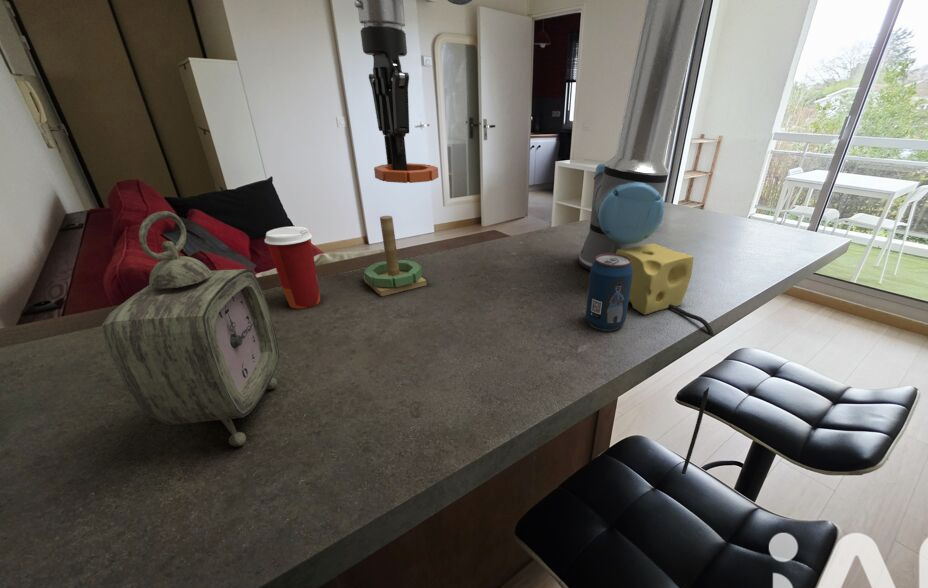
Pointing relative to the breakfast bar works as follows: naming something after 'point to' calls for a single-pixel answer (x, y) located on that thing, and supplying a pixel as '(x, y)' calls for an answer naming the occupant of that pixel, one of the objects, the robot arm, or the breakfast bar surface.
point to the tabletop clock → (194, 339)
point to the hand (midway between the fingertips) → (397, 171)
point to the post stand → (392, 260)
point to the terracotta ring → (406, 173)
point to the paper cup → (295, 265)
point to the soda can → (609, 291)
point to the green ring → (396, 280)
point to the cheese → (657, 277)
